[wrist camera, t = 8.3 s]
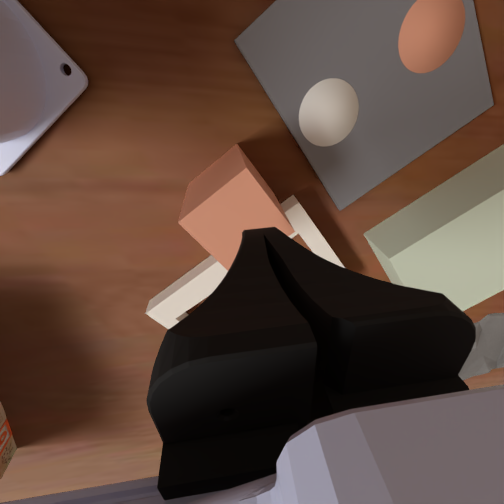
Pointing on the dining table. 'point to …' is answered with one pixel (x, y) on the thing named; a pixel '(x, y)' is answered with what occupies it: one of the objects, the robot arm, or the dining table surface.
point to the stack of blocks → (5, 442)
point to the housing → (450, 236)
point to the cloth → (486, 347)
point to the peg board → (212, 272)
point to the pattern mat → (368, 81)
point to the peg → (230, 206)
